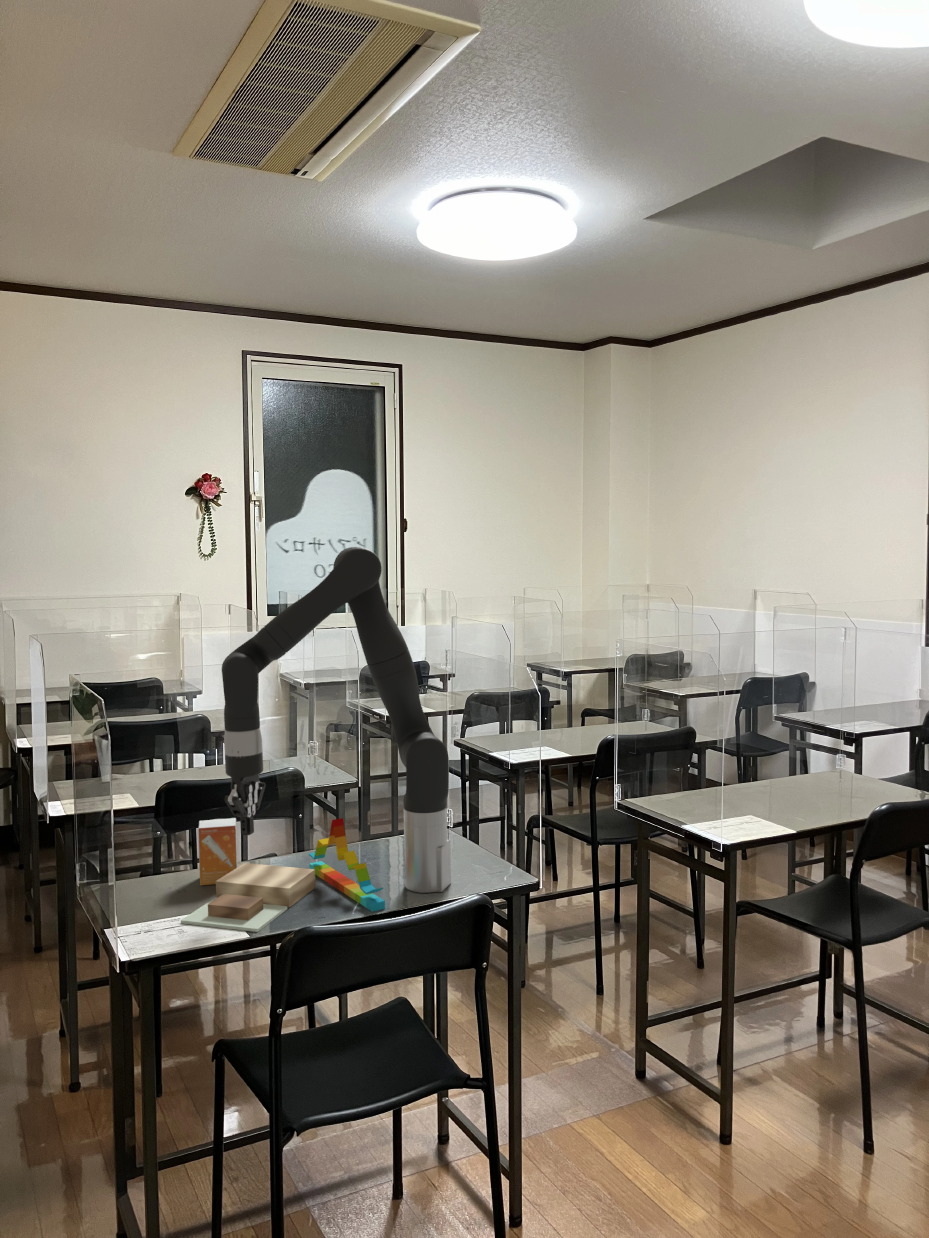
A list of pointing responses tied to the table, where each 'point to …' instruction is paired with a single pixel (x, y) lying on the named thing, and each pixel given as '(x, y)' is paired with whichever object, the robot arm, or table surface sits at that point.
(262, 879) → the birch deck
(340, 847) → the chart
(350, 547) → the robot arm
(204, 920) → the sage mat
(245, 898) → the walnut tile
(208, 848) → the small box
